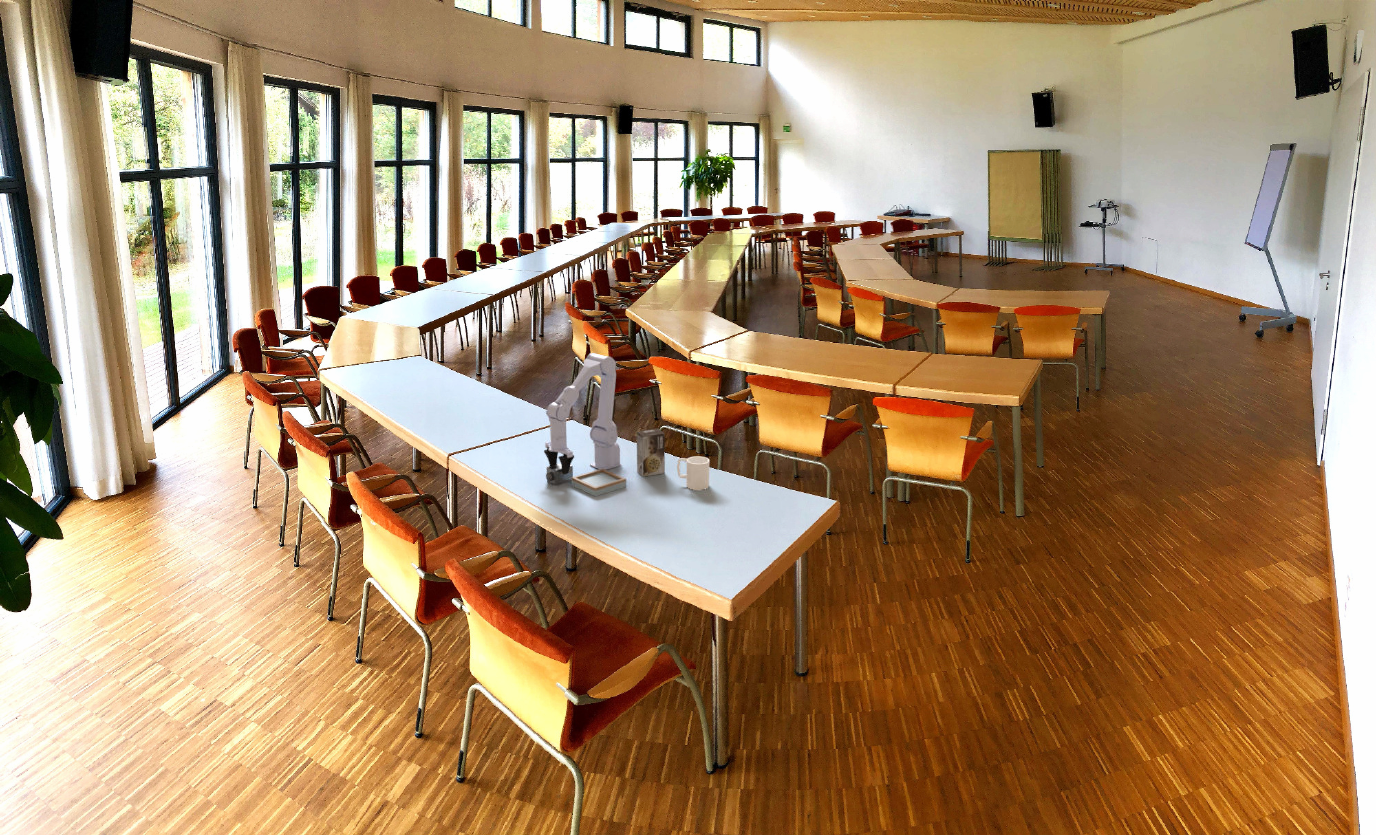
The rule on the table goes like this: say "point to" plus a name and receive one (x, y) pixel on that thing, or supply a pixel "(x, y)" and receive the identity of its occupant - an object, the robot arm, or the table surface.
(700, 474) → the cup
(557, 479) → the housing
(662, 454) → the coffee box
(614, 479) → the square tray
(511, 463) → the table surface
